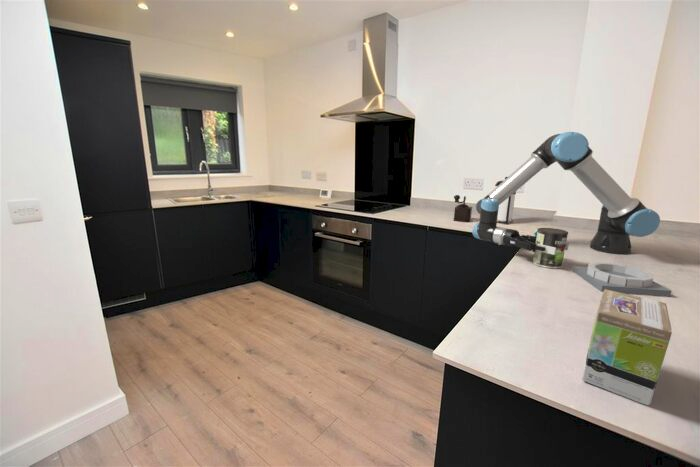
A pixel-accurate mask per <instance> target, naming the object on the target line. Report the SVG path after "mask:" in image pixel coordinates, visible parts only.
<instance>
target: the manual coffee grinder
mask: <svg viewBox="0 0 700 467" xmlns="http://www.w3.org/2000/svg"><path fill="white" fill-rule="evenodd" d="M453 198H454V203H457V204H458V205H456V206H455V207H454V214H453V221H454V222H460V223H470V222H471V221H472V214H473V213H472V212H473V206H469V205H468V204H466V200H467V196H466V195H465V196H464V197H463V200H462V201H460V199H461V196H460V195H459V194H455V195H454V196H453Z"/></svg>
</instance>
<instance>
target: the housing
mask: <svg viewBox="0 0 700 467" xmlns="http://www.w3.org/2000/svg"><path fill="white" fill-rule="evenodd" d="M572 267H573V268H572V272H573V273H575V274H576V275H577V276H579V277H580V278H581V279H583V280H584V281H585V282H587V283H588V284H590V285H591V286H593V287H594V288H596V289H597V290H598V291H600V292H602V293H603V292H604V290H605V289H606V290H611V291H616V292H620V293H624V294H629V295H641V296H642V295H643V296H652V297H653V296H654V297H655V296H656V297H668V298H669V297H671V294H672V290H671V289H669V288H667V287H665V286H663V285H661V284H660V283H657V282H655V281H654V275H653V274H652V273H650V272H648V271H646V270H643V269H641V268H638V267H634V266H630V265H626V264H625V265H624V264H620V263H616V262H615V263H614V262H613V263H612V262H604V261H603V262H602V261H599V262H597V261H596V262H590V263H588V265H587V266H576V265H574V266H572Z"/></svg>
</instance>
